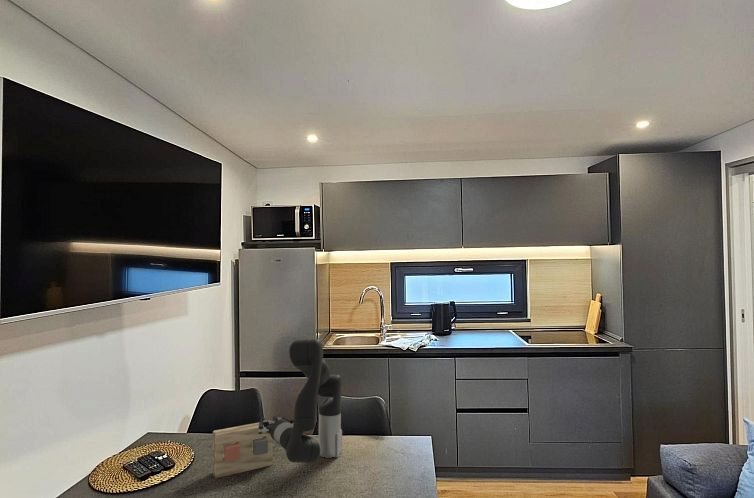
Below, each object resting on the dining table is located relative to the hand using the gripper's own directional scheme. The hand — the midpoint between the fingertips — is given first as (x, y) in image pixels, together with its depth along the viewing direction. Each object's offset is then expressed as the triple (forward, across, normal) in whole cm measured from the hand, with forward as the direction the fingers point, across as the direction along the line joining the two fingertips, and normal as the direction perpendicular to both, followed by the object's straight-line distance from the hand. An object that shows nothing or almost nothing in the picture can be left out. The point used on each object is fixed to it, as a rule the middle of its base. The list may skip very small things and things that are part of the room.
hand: (268, 419), depth 173 cm
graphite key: (+9, 0, +15) cm, 18 cm away
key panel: (+13, +6, +22) cm, 26 cm away
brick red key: (+9, +11, +15) cm, 21 cm away
